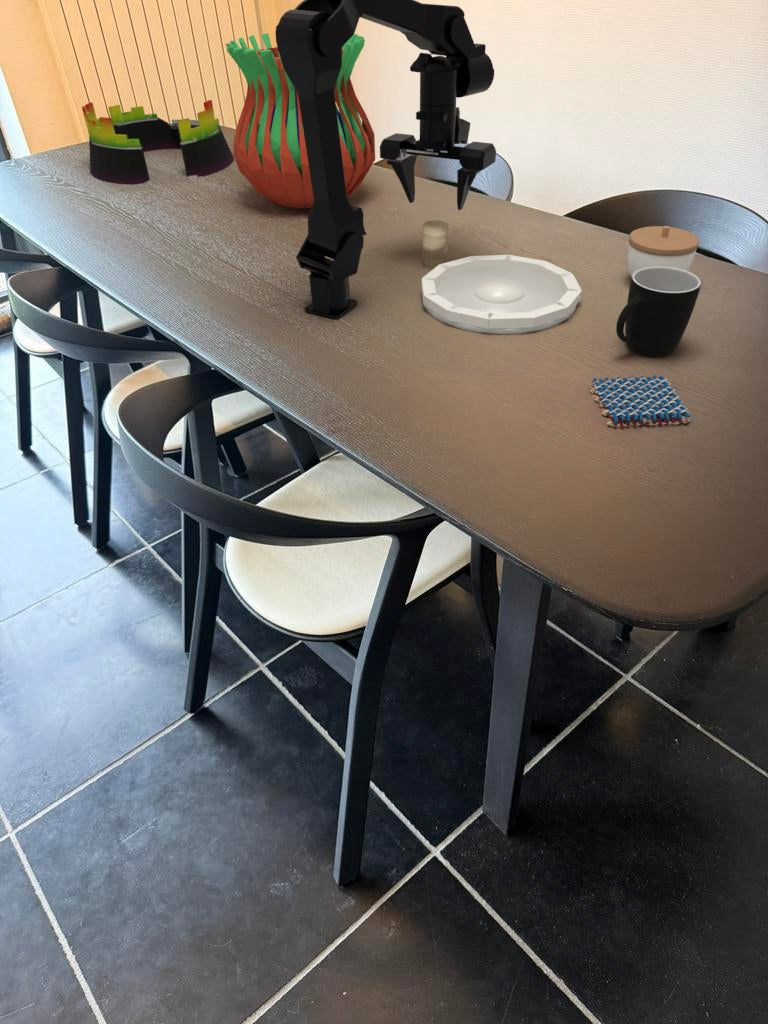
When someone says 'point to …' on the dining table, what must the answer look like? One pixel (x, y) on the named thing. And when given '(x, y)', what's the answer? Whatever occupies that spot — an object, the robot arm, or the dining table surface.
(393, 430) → the dining table surface
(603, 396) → the woven mat
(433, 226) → the tan rounded cylinder
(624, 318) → the mug
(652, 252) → the lidded jar
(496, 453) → the dining table surface
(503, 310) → the ring tray
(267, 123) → the vase
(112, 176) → the decorative container
